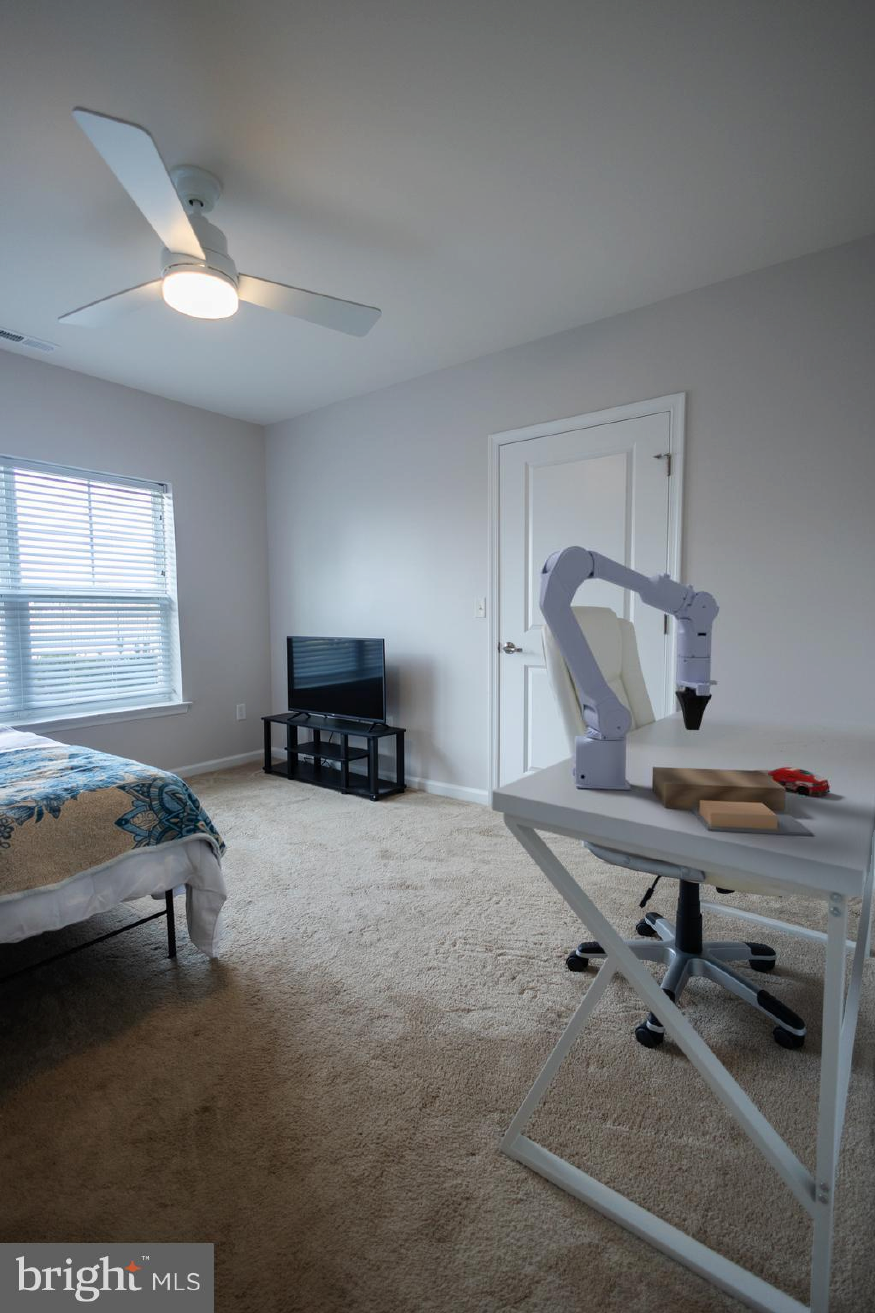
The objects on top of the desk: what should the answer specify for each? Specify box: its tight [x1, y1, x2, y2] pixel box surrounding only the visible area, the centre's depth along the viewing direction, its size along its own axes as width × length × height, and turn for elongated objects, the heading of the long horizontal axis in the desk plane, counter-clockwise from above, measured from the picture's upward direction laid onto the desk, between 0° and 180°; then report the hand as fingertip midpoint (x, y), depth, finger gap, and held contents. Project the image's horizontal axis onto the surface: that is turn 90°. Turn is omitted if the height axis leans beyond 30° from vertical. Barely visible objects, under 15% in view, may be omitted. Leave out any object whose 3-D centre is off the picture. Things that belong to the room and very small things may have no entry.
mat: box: [690, 807, 814, 837], centre depth 92 cm, size 14×10×1 cm
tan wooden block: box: [700, 800, 777, 829], centre depth 91 cm, size 9×6×2 cm, turn 81°
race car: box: [752, 766, 831, 797], centre depth 110 cm, size 13×5×4 cm, turn 39°
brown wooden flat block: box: [651, 766, 787, 811], centre depth 102 cm, size 18×11×4 cm, turn 81°
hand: (692, 729), depth 113 cm, fingers closed
